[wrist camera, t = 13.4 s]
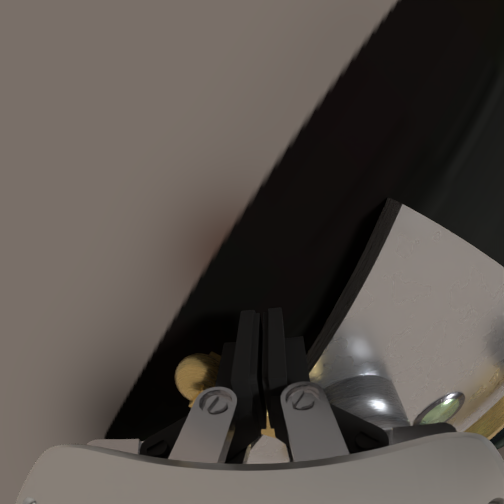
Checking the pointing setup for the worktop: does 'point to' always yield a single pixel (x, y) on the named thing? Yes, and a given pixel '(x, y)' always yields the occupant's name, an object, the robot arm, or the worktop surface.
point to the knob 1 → (339, 393)
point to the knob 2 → (489, 421)
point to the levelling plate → (415, 325)
